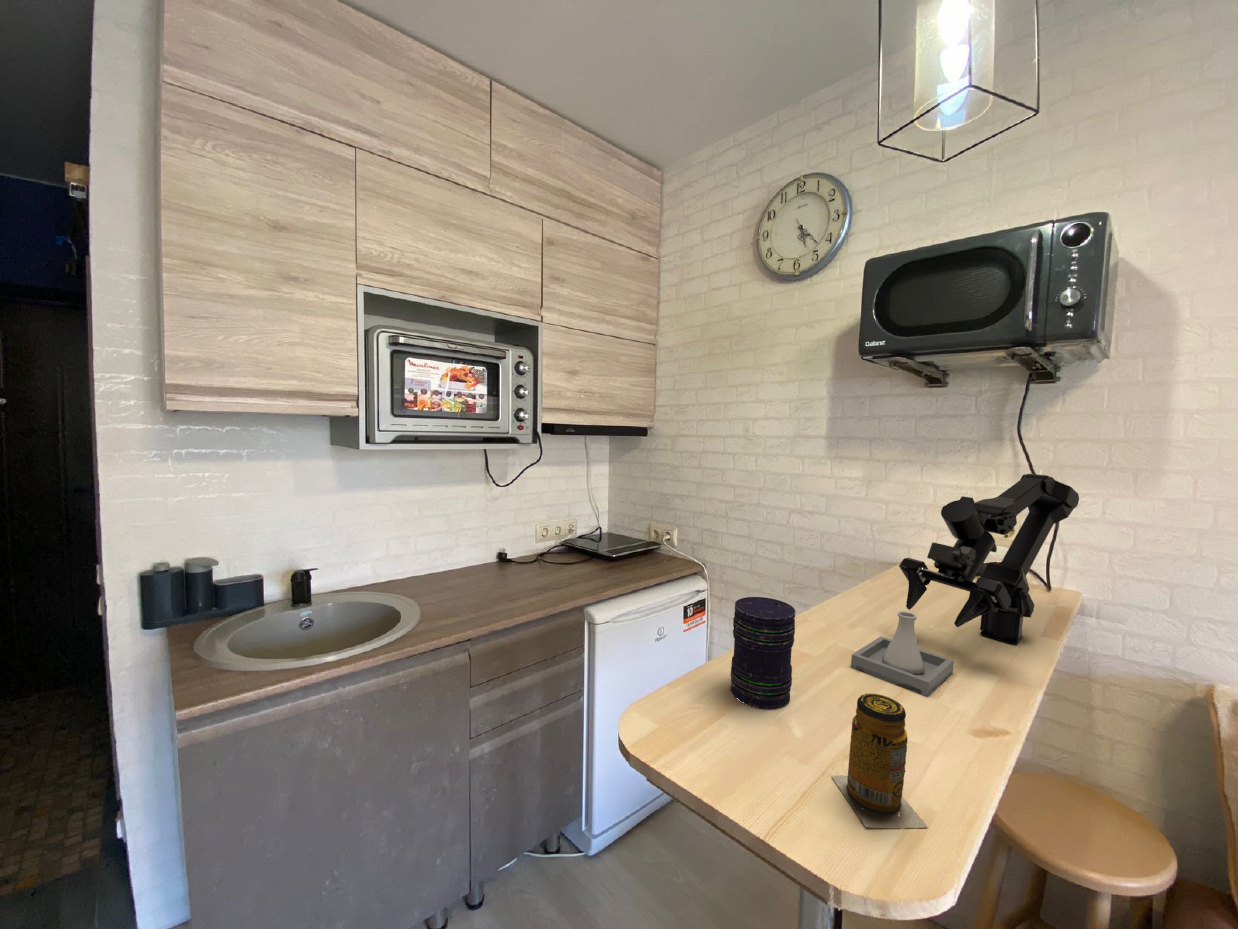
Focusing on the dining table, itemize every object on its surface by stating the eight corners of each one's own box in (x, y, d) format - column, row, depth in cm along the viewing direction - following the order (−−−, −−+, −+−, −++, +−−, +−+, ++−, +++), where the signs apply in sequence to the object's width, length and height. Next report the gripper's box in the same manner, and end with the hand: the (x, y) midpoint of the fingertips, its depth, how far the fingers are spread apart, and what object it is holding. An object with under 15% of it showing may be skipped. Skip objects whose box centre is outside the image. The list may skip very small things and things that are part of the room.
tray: (952, 673, 95) (953, 660, 95) (927, 697, 86) (929, 682, 86) (879, 648, 105) (880, 636, 104) (850, 667, 96) (851, 654, 96)
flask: (931, 678, 91) (936, 623, 90) (887, 672, 93) (892, 619, 92) (916, 659, 98) (921, 608, 97) (876, 654, 100) (880, 605, 99)
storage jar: (762, 717, 79) (767, 623, 78) (717, 688, 87) (721, 603, 86) (803, 699, 85) (809, 611, 83) (757, 673, 93) (761, 593, 92)
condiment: (885, 776, 67) (892, 688, 66) (928, 829, 58) (937, 729, 57) (830, 777, 66) (837, 688, 65) (865, 830, 58) (873, 729, 57)
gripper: (908, 519, 108) (869, 577, 103) (1009, 539, 91) (968, 609, 87) (927, 552, 112) (891, 609, 108) (1027, 577, 96) (989, 645, 92)
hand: (930, 616), depth 99 cm, fingers open, 9 cm apart
